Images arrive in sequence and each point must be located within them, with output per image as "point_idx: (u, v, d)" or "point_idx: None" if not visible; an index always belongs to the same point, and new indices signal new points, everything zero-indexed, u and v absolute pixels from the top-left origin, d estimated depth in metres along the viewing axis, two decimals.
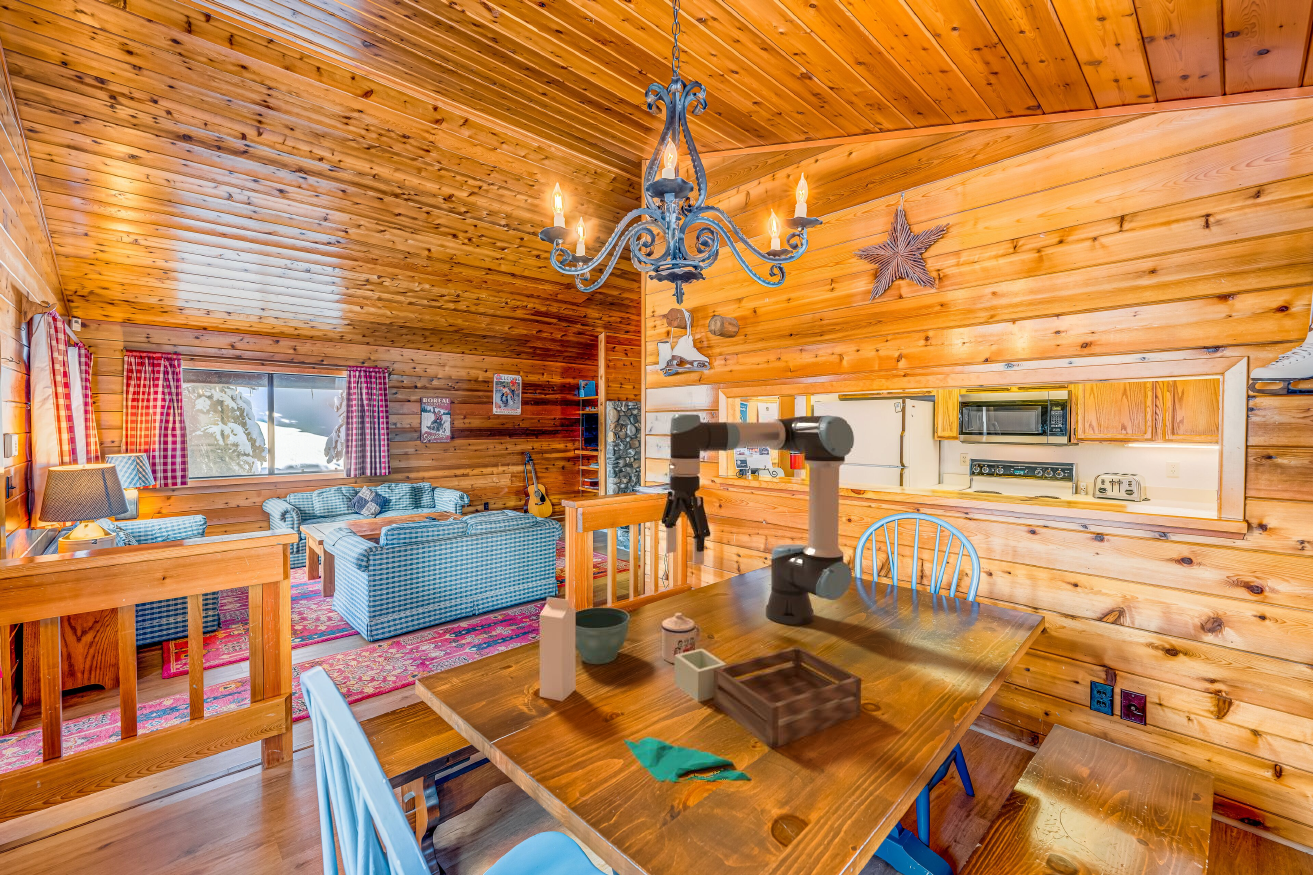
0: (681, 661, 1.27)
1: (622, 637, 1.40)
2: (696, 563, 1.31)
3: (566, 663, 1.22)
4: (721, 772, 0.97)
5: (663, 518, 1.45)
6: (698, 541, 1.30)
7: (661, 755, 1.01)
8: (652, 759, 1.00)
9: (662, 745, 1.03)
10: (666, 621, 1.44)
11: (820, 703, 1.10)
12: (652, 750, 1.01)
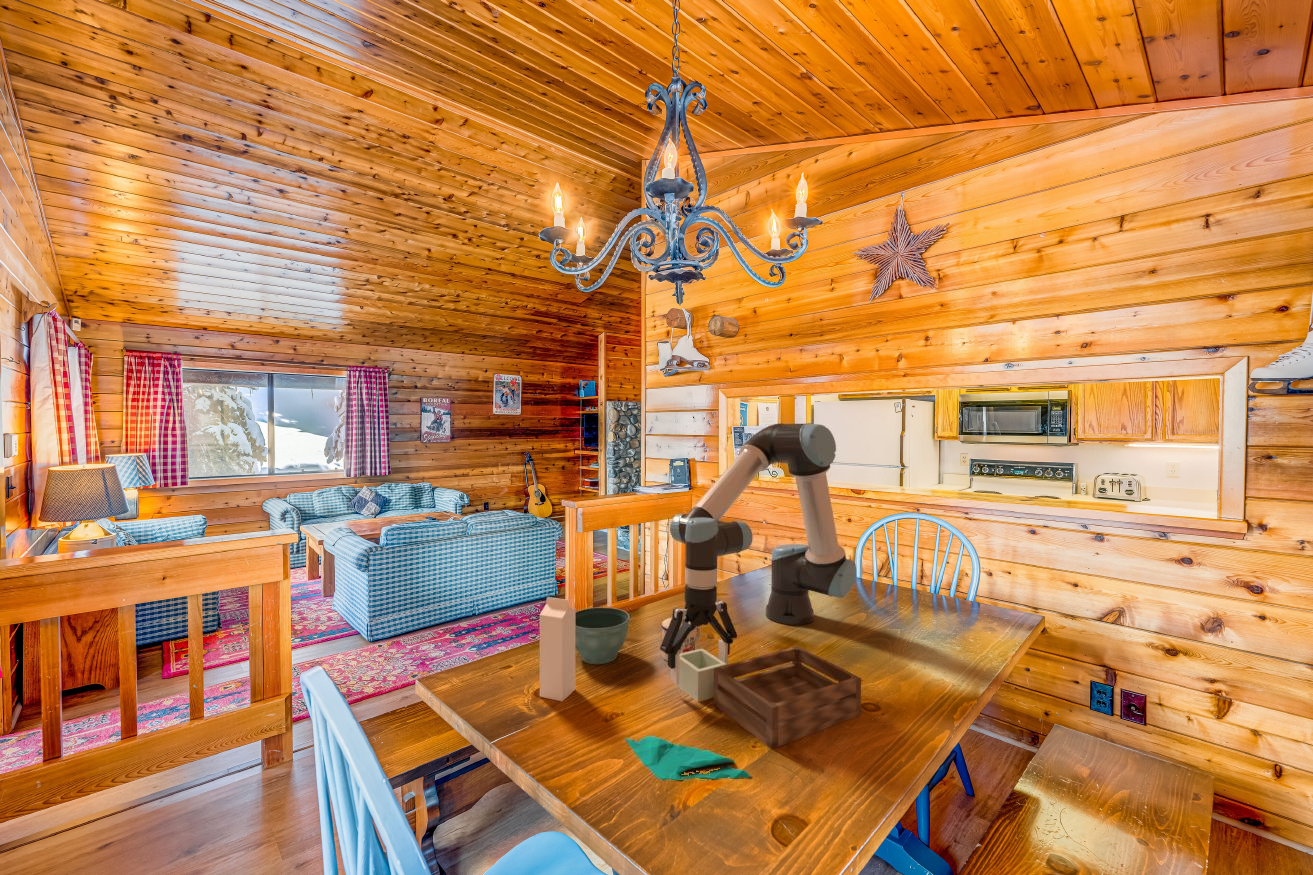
0: (681, 661, 1.27)
1: (622, 637, 1.40)
2: (671, 678, 1.24)
3: (566, 663, 1.22)
4: (722, 770, 0.97)
5: None
6: None
7: (662, 753, 1.02)
8: (654, 757, 1.00)
9: (663, 743, 1.04)
10: (666, 621, 1.44)
11: (820, 703, 1.10)
12: (653, 748, 1.02)
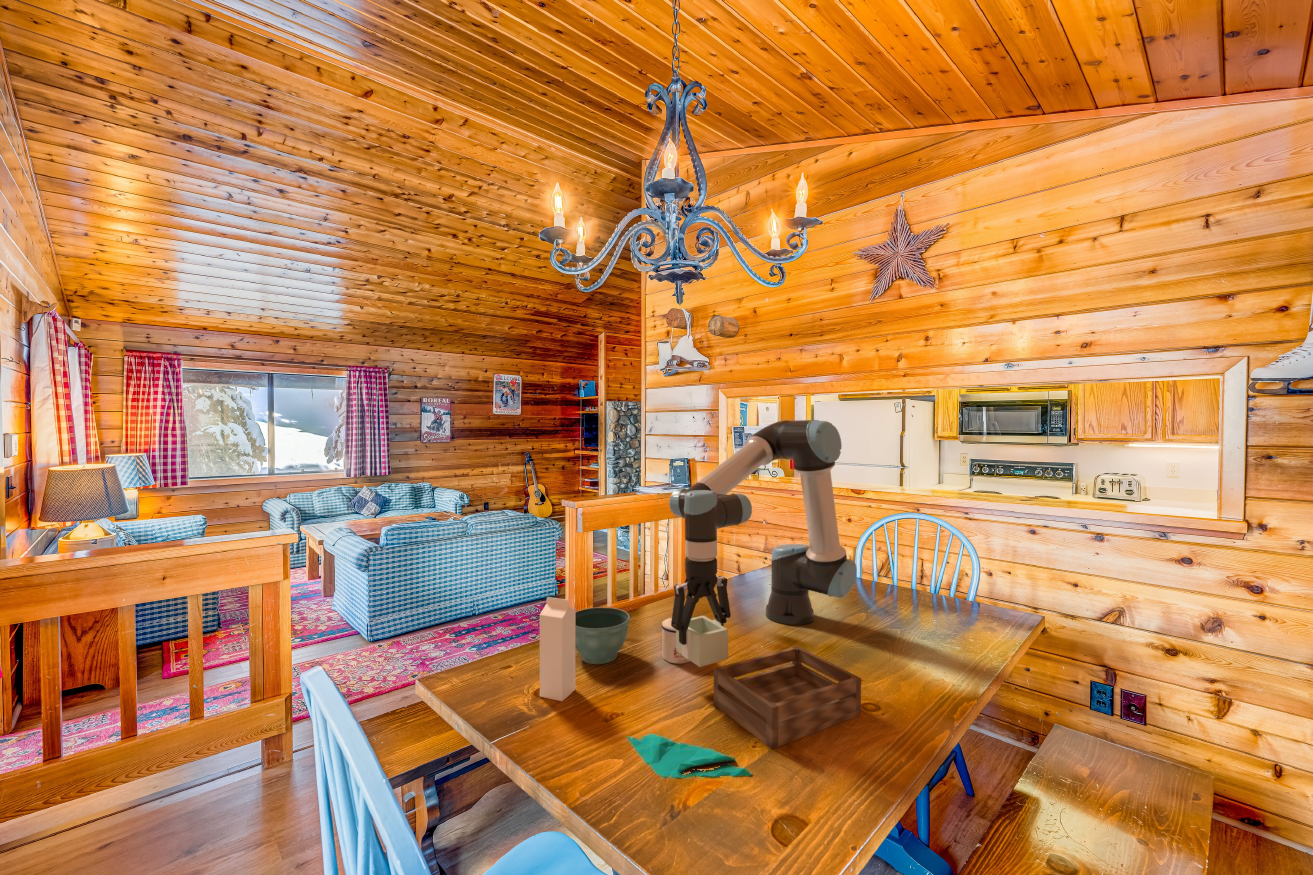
0: None
1: (622, 637, 1.40)
2: (683, 654, 1.26)
3: (566, 663, 1.23)
4: (723, 768, 0.98)
5: None
6: None
7: (664, 751, 1.02)
8: (655, 755, 1.01)
9: (665, 741, 1.04)
10: (666, 621, 1.44)
11: (820, 703, 1.10)
12: (655, 746, 1.02)
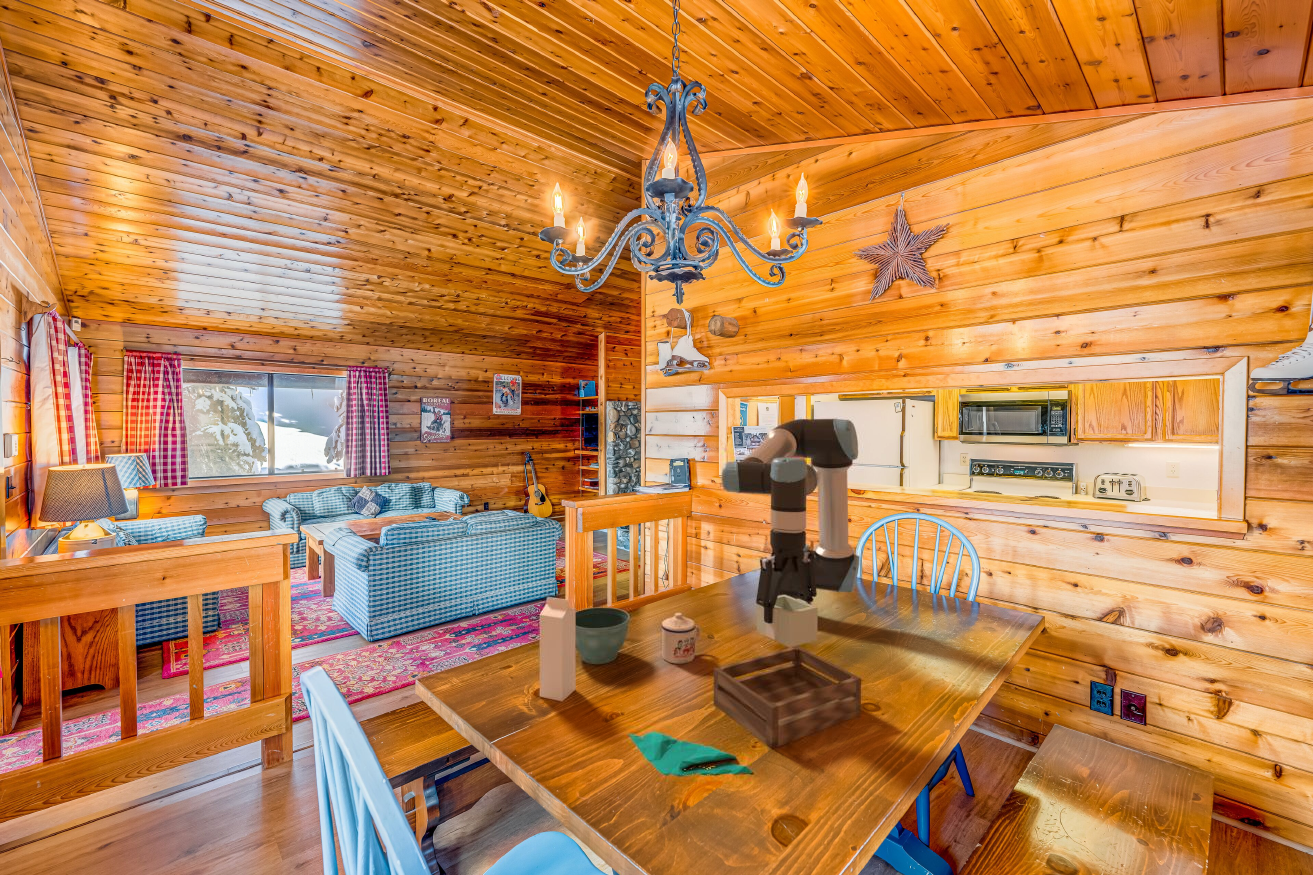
0: None
1: (622, 637, 1.40)
2: (767, 634, 1.16)
3: (566, 663, 1.22)
4: (724, 766, 0.98)
5: None
6: None
7: (665, 749, 1.03)
8: (657, 752, 1.01)
9: (666, 739, 1.05)
10: (666, 621, 1.44)
11: (820, 703, 1.10)
12: (656, 744, 1.03)
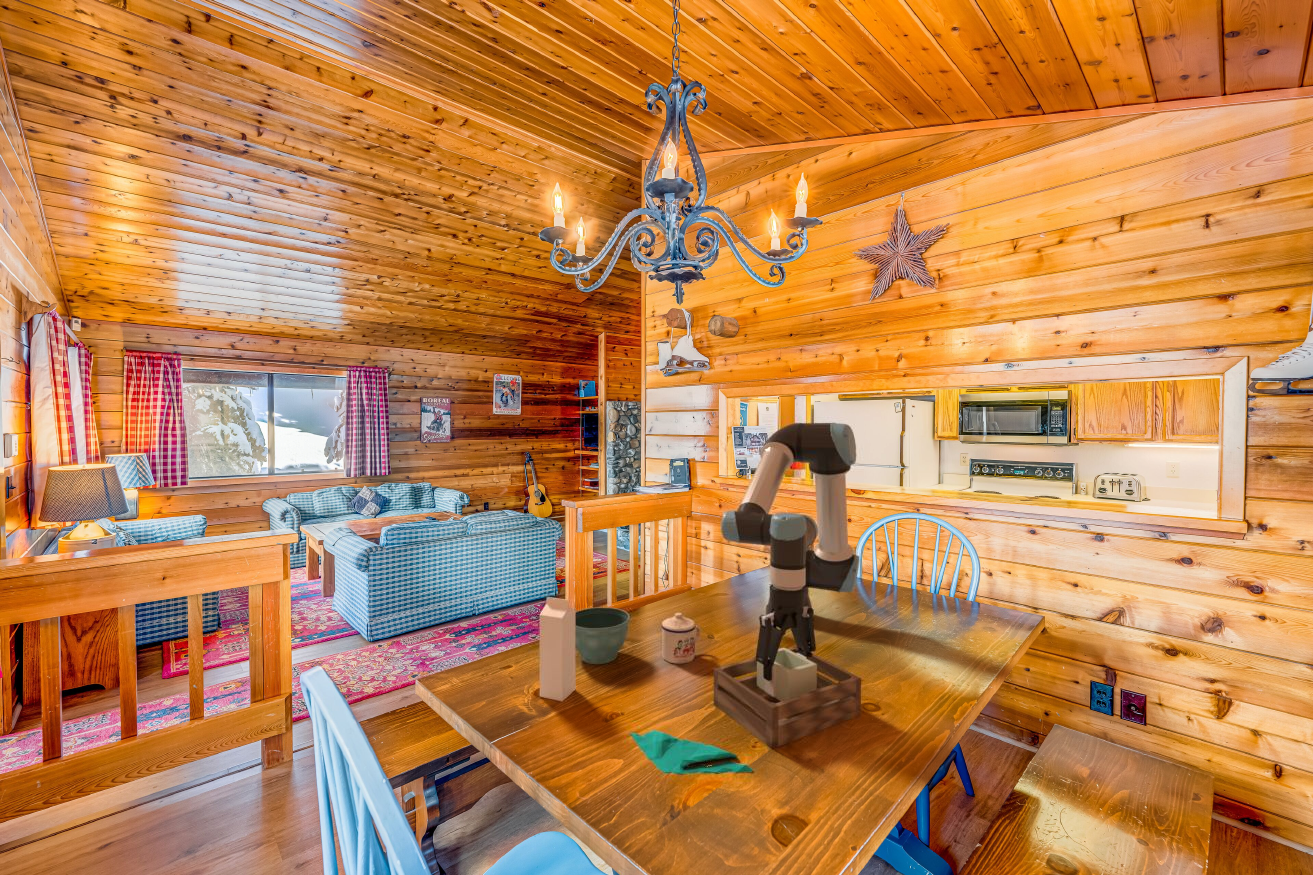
0: None
1: (622, 637, 1.40)
2: (766, 690, 1.16)
3: (566, 663, 1.22)
4: (725, 764, 0.99)
5: None
6: None
7: (666, 747, 1.03)
8: (658, 751, 1.02)
9: (667, 738, 1.06)
10: (666, 621, 1.44)
11: (820, 703, 1.10)
12: (657, 742, 1.04)
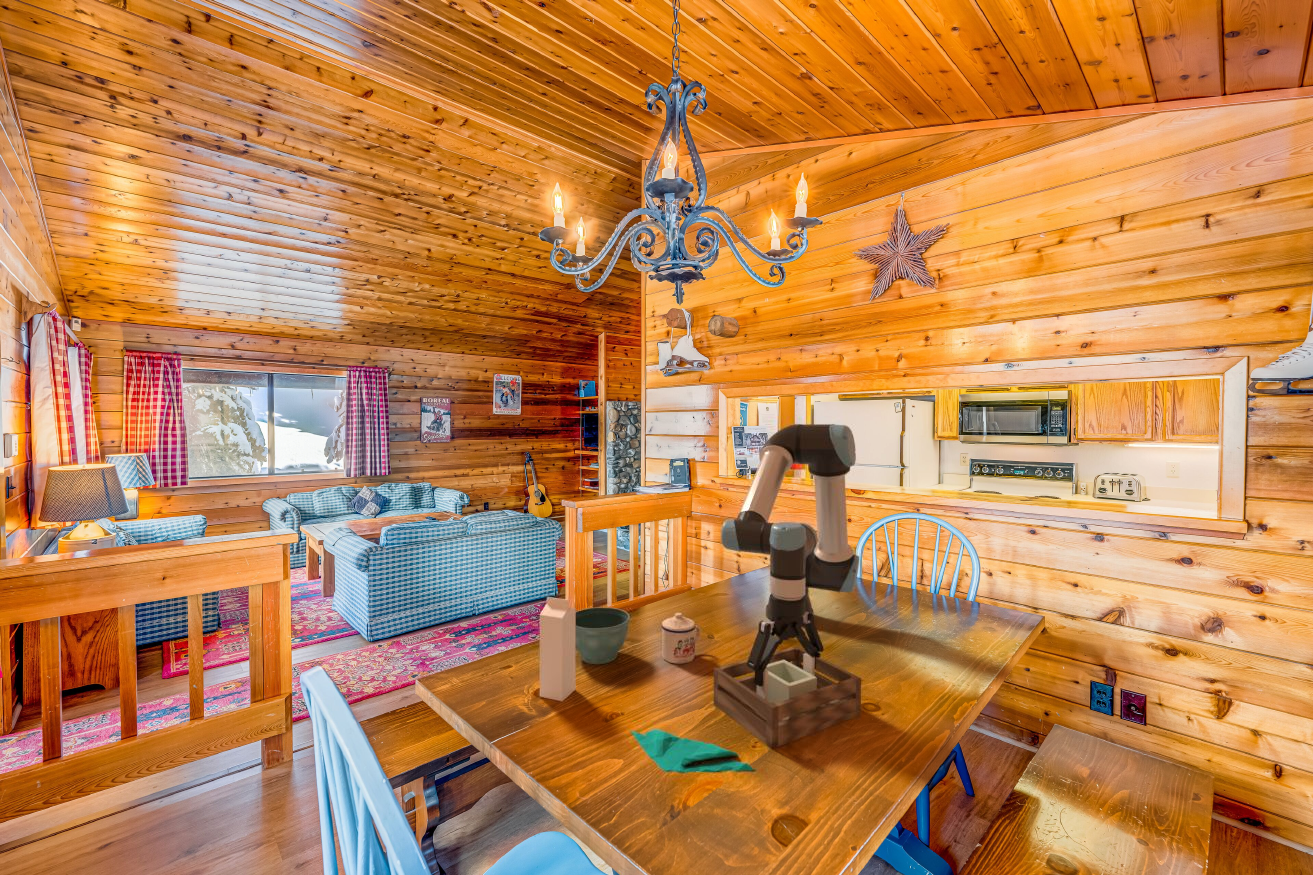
0: None
1: (622, 637, 1.40)
2: None
3: (566, 663, 1.23)
4: (726, 763, 0.99)
5: None
6: None
7: (667, 746, 1.04)
8: (659, 749, 1.02)
9: (668, 737, 1.06)
10: (666, 621, 1.44)
11: (820, 703, 1.10)
12: (659, 741, 1.04)
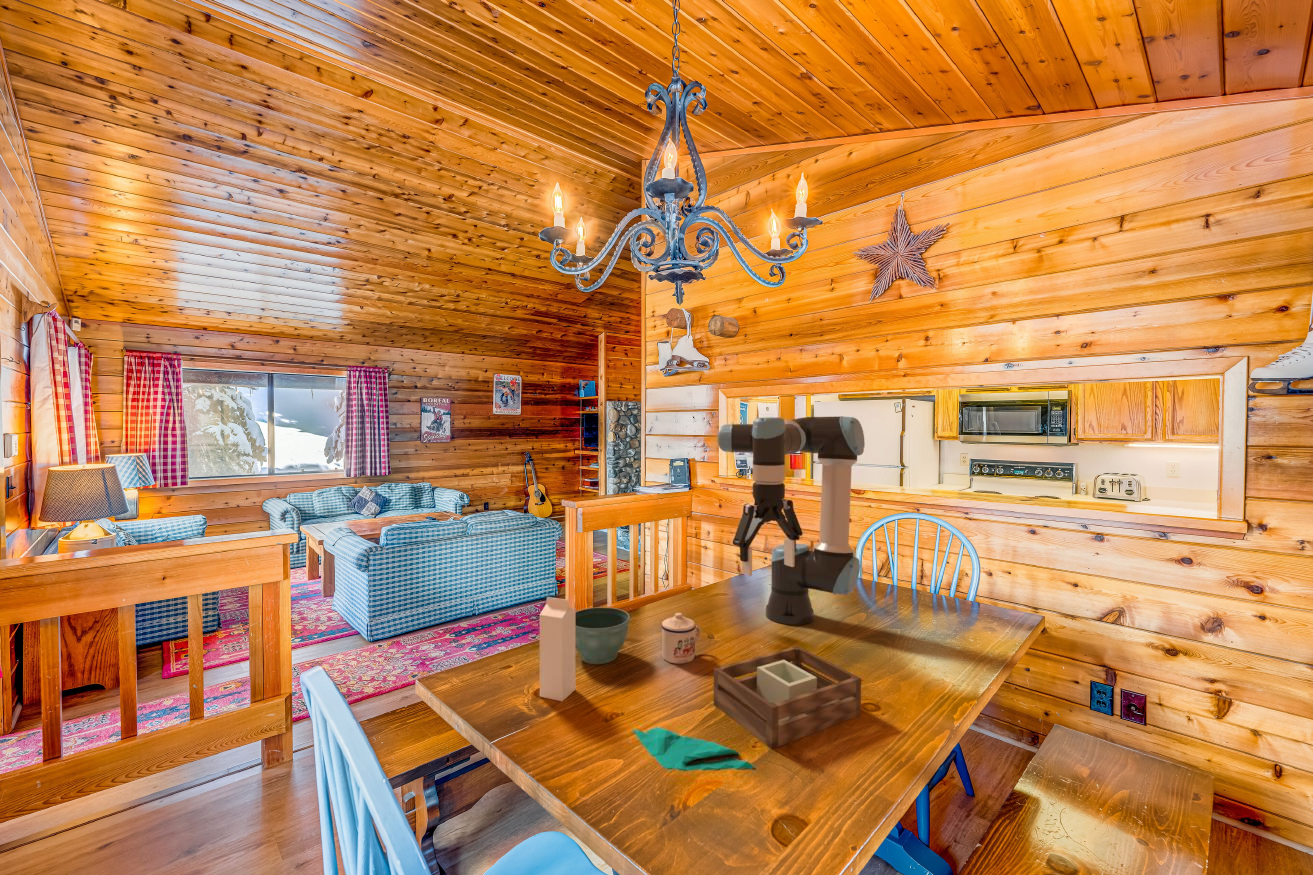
0: (766, 674, 1.18)
1: (622, 637, 1.40)
2: (743, 572, 1.27)
3: (566, 663, 1.22)
4: (727, 761, 1.00)
5: None
6: None
7: (669, 744, 1.04)
8: (660, 747, 1.03)
9: (670, 735, 1.07)
10: (666, 621, 1.44)
11: (820, 703, 1.10)
12: (660, 739, 1.05)
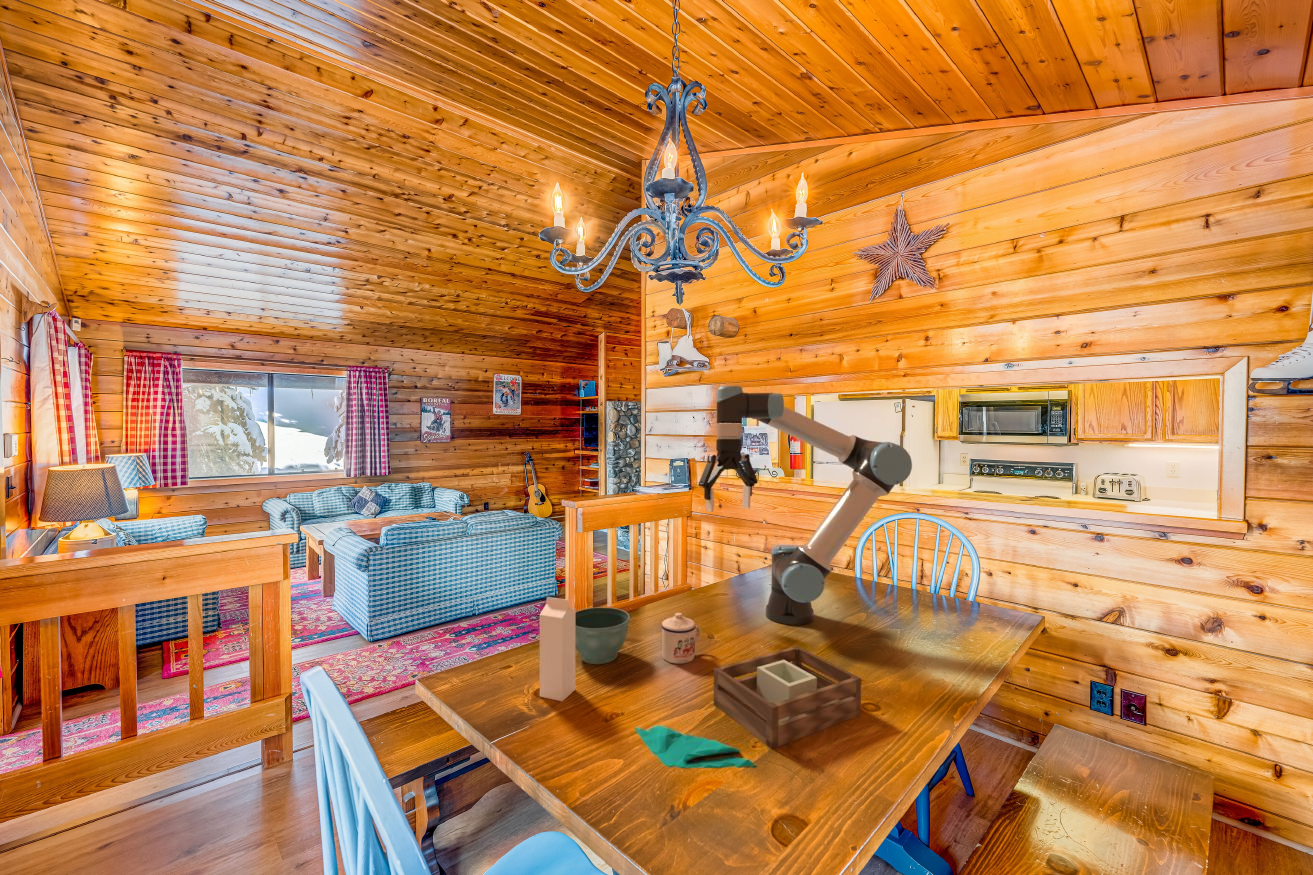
0: (766, 674, 1.18)
1: (622, 637, 1.40)
2: (707, 509, 1.59)
3: (566, 663, 1.23)
4: (728, 759, 1.00)
5: None
6: None
7: (670, 742, 1.05)
8: (662, 745, 1.04)
9: (671, 733, 1.07)
10: (666, 621, 1.44)
11: (820, 703, 1.10)
12: (662, 737, 1.05)
